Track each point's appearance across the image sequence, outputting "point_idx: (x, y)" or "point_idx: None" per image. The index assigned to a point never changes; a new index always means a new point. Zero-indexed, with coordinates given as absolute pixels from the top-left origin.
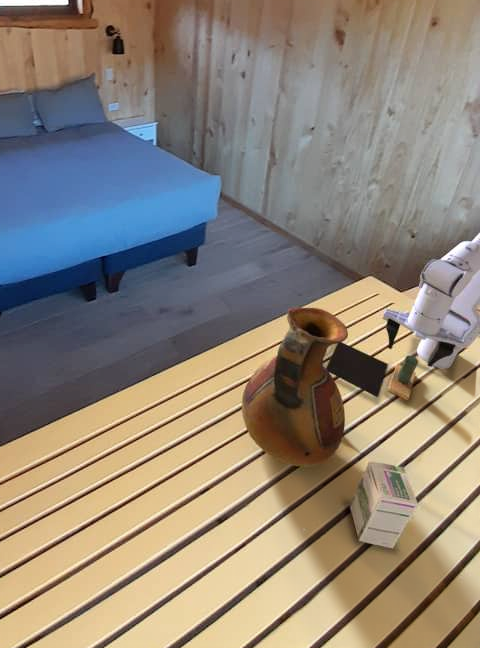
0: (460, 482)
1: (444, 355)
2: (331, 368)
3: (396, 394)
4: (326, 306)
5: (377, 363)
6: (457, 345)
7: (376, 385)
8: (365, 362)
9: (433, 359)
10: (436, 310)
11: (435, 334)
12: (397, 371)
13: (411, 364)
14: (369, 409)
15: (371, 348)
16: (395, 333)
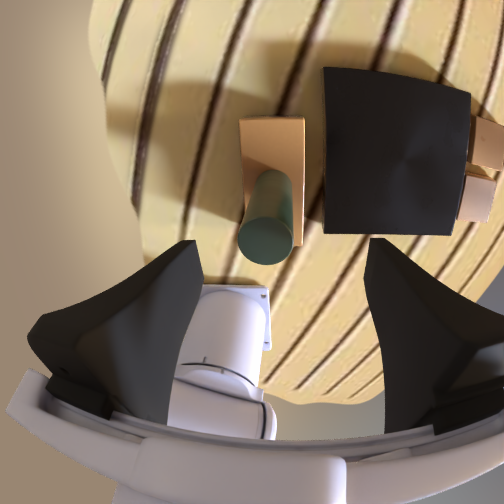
0: (101, 12)
1: (77, 308)
2: (460, 109)
3: (275, 117)
4: None
5: (351, 215)
6: (26, 401)
7: (338, 115)
8: (384, 196)
9: (157, 269)
10: None
11: (117, 485)
12: (295, 213)
13: (260, 212)
14: (326, 29)
15: (364, 270)
16: (461, 326)
